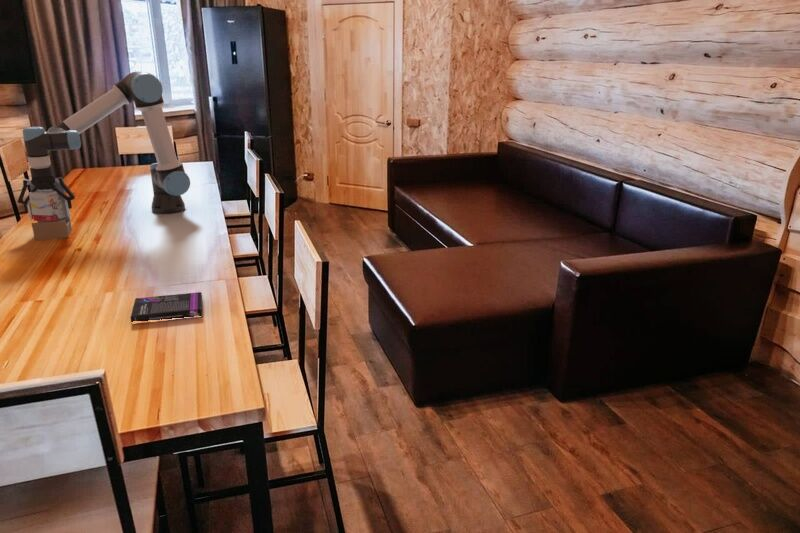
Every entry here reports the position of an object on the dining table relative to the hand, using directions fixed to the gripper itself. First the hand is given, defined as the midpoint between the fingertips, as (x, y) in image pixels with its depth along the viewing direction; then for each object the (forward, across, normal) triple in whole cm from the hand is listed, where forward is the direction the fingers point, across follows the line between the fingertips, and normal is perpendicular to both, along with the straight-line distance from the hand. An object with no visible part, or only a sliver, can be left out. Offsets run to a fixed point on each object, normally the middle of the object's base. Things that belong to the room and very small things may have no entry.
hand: (50, 217), depth 240 cm
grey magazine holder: (+7, 0, 0) cm, 7 cm away
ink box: (0, 0, 0) cm, 1 cm away
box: (+8, -41, +96) cm, 104 cm away
